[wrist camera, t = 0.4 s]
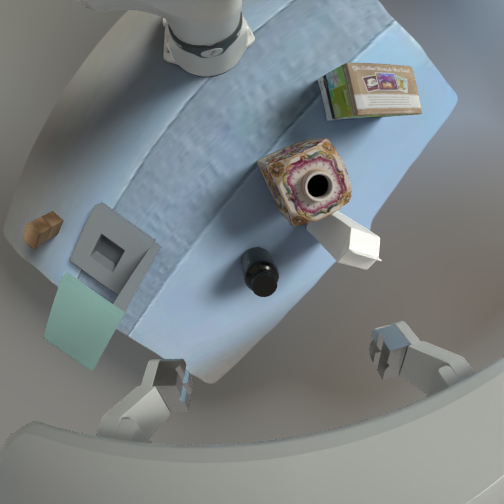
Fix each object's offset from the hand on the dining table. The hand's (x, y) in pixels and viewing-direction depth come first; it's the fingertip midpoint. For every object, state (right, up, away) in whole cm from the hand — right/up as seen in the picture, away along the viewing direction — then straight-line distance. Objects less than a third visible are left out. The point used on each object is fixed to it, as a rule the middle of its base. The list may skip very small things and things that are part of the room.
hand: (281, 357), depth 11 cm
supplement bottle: (0, +3, +51) cm, 51 cm away
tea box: (+21, +38, +39) cm, 58 cm away
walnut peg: (-48, +11, +42) cm, 65 cm away
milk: (+14, +12, +49) cm, 52 cm away
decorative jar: (+7, +20, +45) cm, 50 cm away
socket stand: (-32, +5, +46) cm, 57 cm away
